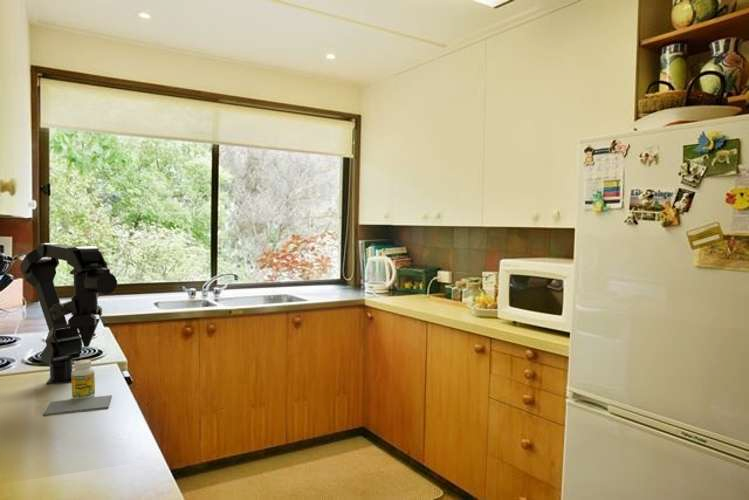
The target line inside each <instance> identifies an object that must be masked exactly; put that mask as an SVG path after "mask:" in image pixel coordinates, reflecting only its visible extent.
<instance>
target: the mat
mask: <svg viewBox="0 0 749 500" xmlns="http://www.w3.org/2000/svg"><path fill="white" fill-rule="evenodd" d="M112 397H113V396H112V395H111V394H110V395H102V396H93V397H90V398H81V399H73V398H72V399H63V400H54V401H50V402H49V404H48V405H47V407H46V409H45V410H44V412H43V413H42V416H43V417H45V416H46V417H47V416H53V415H65V414H70V413H72V414H73V413H80V412H88V411H89V412H90V411H96V410H97V411H98V410H107V409H109V407H110V403H111V400H112Z"/></svg>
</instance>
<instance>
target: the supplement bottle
mask: <svg viewBox="0 0 749 500" xmlns="http://www.w3.org/2000/svg"><path fill="white" fill-rule="evenodd" d="M73 368H74V369H73V371H72V373H71V377H72V382H71V398H72V399H81V398H90V397H95V394H96V383H95V379H96V378H95V369H94V368H93V367H92V361H91V359H80V360H77V361H74V362H73Z"/></svg>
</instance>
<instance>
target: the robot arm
mask: <svg viewBox="0 0 749 500" xmlns="http://www.w3.org/2000/svg"><path fill="white" fill-rule="evenodd" d="M60 260H62V261H65V262H66V264H67V265H69V266H70V267H72V268H73V269H71V270H70V272H69V275H73V295H72V296H71V298H70V299H71V300H68V301H65V302H63V303H61V300H60V298H59V295H58V292H57V290H56V289H57V288H56V285H55V283H54V279H55V277H56V274H57V267H58V266H59V264H60ZM19 269H20V272H21V274H22V275H23V278H24V279H25V282H27V283H28V284H30V285H31V286H32V287H34V288H35V289H34V290H35V293H36V295H37V299H38V301H39V305H40V307H41V311H42V313H43V317H44V320H45V323H46V326H47V328H48V329H47V330H48V333H47V336H46V338H45V345H46V346H45V347H44V348H43V351H42V352H41V353H40V359H41V362H42V363H45V364H48V365H49V379H48V380H47V381H46V384H47V385H53V384H63V383H64V384H65V383H72V377H71V373H72V371H73V370H74V369H73V368H74V367H73V359H80V357H81V354H82V353H81V351H82V347H84V348H88V347H89V346H90V345H91V342H92V339H93V337H94V334H95V333H96V330H97V327H98V324H99V322H100V320H101V319H100V318H97V315H98V316H99V317H102V315H103V308H102V306H100V305H98V301H99V300H98V298H99V294H103V295H104V294H105V295H109V294H112V293H113V292H114V291H115V290H116V289H117V287H118V280H117V278H116V276H115V275H114V274H113V273H111V269H110V268H109V267H108V263H107V261H106V260H105V257H104V256H103V254H102V252H101V250H100V249H99V247H98V246H89V245H88V246H69V245H64V244H59V243H57V242H42V243H39V244H38V245H37V246H36V247H35V249H33V250H32V251H30V252H29V253H27V254H26V255H25V256H24V257H23V259H22V261H21V262H20V265H19ZM67 315H71V317H70V318H68V319H66V316H67Z"/></svg>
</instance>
